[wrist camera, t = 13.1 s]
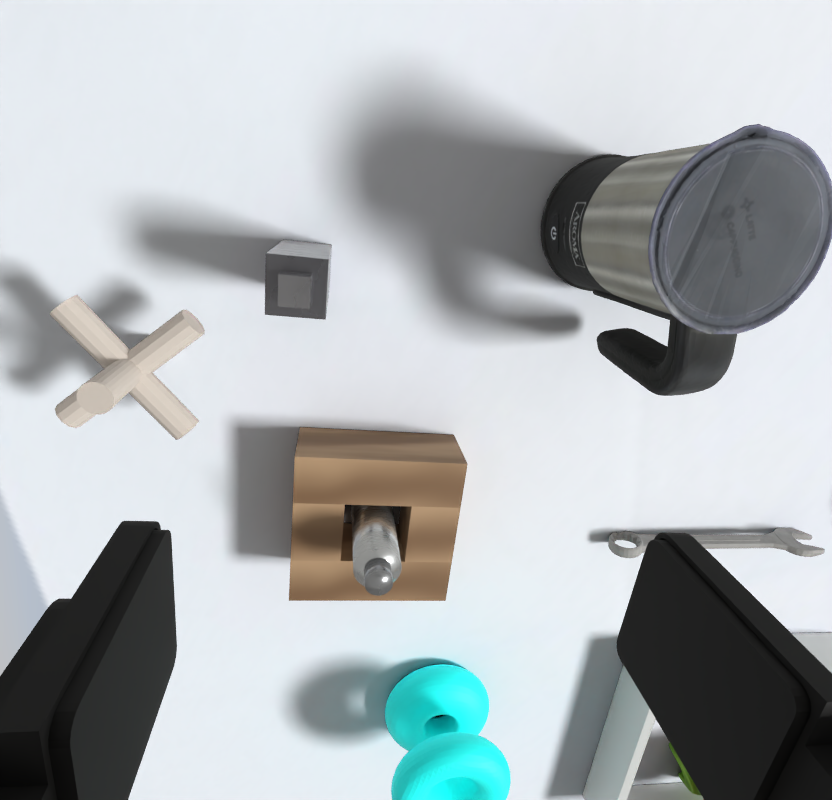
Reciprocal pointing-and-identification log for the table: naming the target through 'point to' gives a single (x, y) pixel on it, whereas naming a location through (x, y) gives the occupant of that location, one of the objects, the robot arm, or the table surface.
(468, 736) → the donuts
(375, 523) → the round bit
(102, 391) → the pipe connector
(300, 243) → the square bit
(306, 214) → the table surface
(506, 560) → the table surface
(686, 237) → the milk frother
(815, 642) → the parts tray
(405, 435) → the socket block
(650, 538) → the combination wrench
